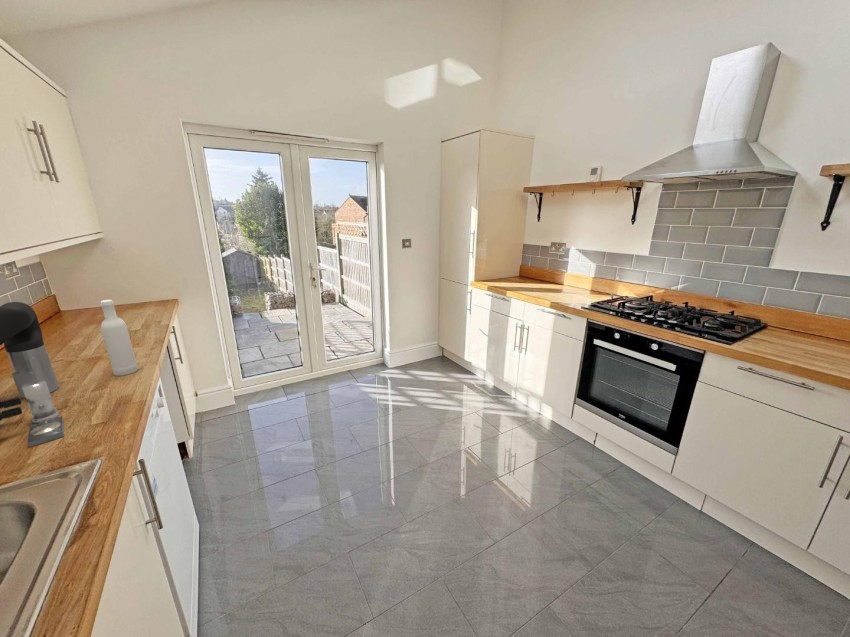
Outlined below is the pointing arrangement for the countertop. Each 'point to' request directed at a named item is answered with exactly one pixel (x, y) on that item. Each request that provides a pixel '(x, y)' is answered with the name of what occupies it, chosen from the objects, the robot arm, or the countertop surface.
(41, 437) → the base plate
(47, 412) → the flanged metal cylinder
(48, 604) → the countertop surface
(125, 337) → the bottle
